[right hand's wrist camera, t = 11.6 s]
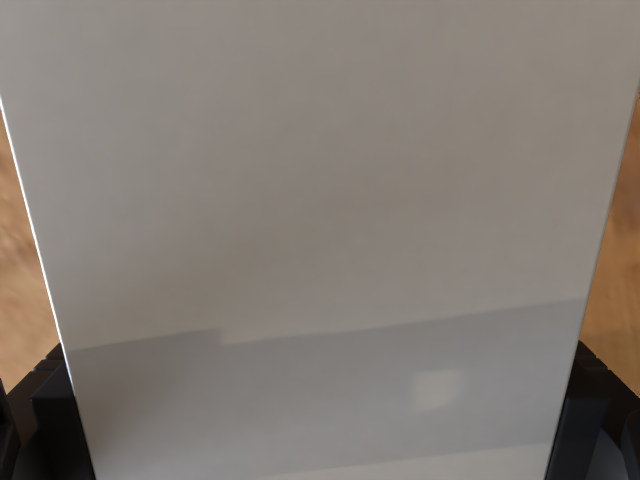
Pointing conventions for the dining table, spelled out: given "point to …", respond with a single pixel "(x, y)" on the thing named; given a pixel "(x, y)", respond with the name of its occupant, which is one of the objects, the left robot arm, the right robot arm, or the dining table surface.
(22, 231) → the dining table surface
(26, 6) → the thick board
